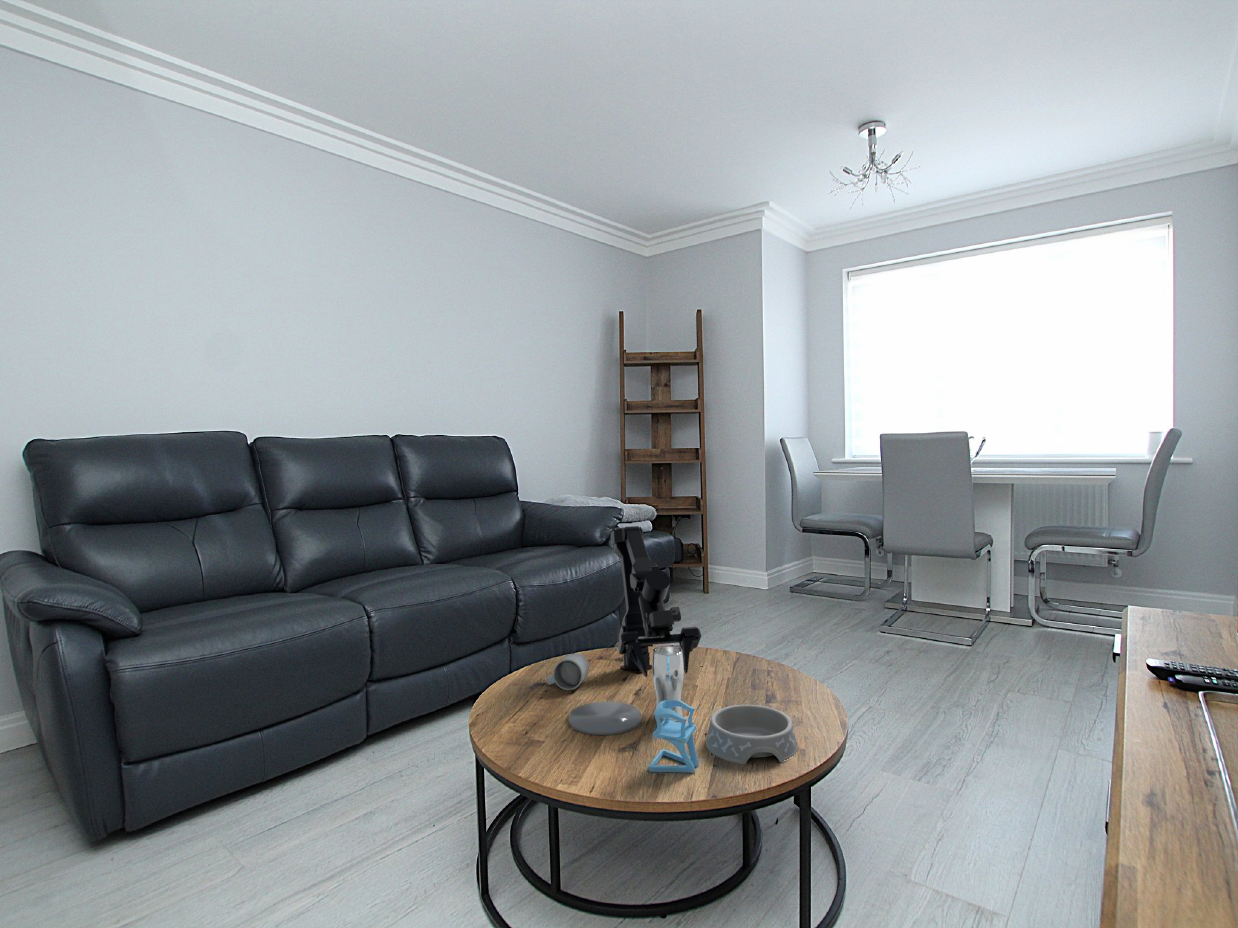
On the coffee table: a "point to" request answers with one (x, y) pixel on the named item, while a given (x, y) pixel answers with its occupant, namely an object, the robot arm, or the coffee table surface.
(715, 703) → the coffee table surface
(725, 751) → the dog bowl
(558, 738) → the coffee table surface
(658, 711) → the chair
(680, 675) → the chrome tumbler cup
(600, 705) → the coaster board
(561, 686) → the ceramic mug
